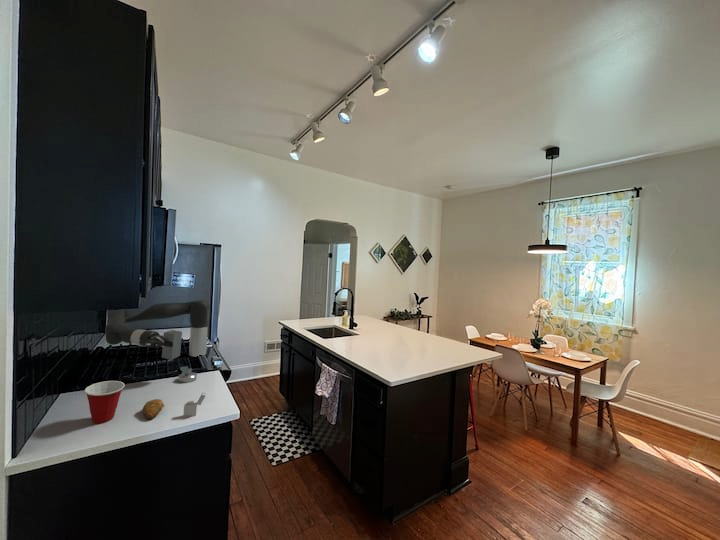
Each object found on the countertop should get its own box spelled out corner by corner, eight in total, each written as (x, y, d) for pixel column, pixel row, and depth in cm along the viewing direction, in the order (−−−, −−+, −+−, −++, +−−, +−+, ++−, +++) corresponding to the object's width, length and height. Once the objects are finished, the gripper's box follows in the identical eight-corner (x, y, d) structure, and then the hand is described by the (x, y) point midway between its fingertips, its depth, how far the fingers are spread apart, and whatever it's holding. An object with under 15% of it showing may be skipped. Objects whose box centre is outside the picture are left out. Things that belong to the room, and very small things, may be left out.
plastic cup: (99, 430, 97) (101, 394, 97) (74, 424, 99) (76, 390, 99) (130, 414, 108) (132, 382, 108) (107, 409, 110) (109, 378, 110)
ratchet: (175, 370, 151) (176, 360, 151) (192, 368, 156) (192, 358, 156) (179, 384, 136) (179, 372, 136) (197, 381, 140) (198, 370, 140)
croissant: (146, 405, 115) (147, 393, 115) (166, 403, 118) (167, 390, 118) (137, 423, 103) (138, 409, 103) (160, 419, 106) (161, 406, 106)
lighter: (183, 417, 108) (184, 396, 108) (183, 415, 110) (185, 394, 110) (204, 414, 111) (206, 393, 111) (205, 412, 113) (206, 391, 113)
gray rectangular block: (161, 357, 136) (163, 332, 136) (170, 354, 141) (172, 330, 141) (171, 359, 136) (173, 334, 135) (179, 355, 141) (182, 331, 140)
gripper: (156, 341, 147) (187, 346, 145) (131, 350, 133) (164, 355, 131) (157, 327, 147) (188, 331, 145) (132, 334, 133) (166, 339, 131)
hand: (177, 343), depth 138 cm, fingers closed on gray rectangular block, 5 cm apart
